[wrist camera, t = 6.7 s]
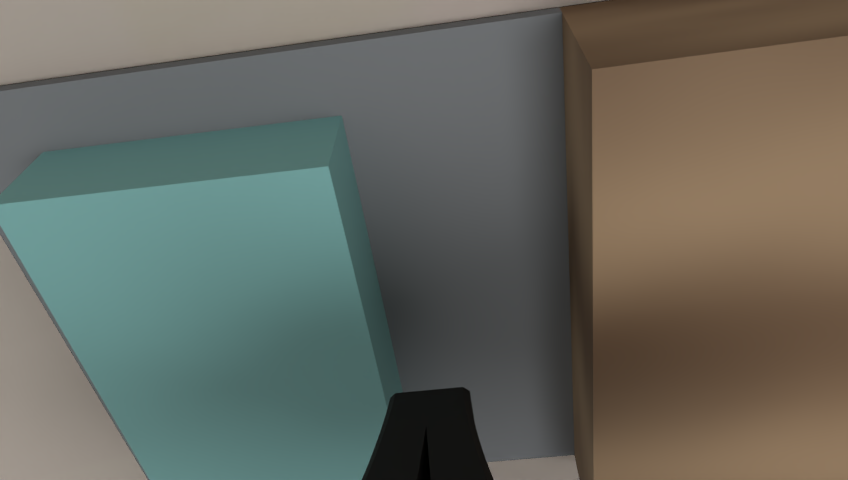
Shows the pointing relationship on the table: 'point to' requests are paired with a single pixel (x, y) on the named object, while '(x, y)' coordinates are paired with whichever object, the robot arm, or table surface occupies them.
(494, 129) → the mat
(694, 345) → the deck
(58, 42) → the table surface
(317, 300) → the teal rectangular block
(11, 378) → the table surface
